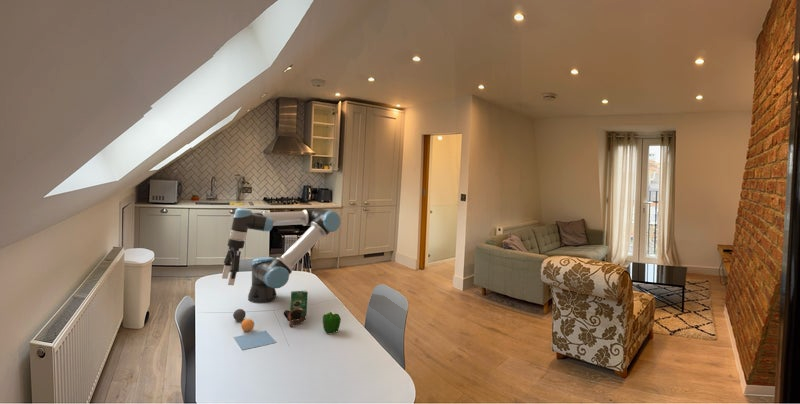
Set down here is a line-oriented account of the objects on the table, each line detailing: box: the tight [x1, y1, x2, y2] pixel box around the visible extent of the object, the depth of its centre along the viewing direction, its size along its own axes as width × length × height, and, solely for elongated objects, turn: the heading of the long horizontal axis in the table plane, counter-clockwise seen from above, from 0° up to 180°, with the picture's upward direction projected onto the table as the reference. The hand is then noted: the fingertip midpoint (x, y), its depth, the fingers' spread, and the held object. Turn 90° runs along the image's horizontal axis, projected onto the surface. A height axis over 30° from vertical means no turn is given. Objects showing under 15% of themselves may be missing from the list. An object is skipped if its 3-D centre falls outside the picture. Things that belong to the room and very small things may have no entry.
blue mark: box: [233, 330, 277, 351], centre depth 171 cm, size 14×14×1 cm
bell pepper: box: [322, 311, 342, 334], centre depth 183 cm, size 8×8×10 cm
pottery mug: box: [283, 309, 307, 328], centre depth 191 cm, size 12×10×8 cm
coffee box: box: [289, 290, 309, 317], centre depth 199 cm, size 8×3×13 cm, turn 115°
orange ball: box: [240, 318, 255, 332], centre depth 180 cm, size 6×6×6 cm
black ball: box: [232, 308, 246, 322], centre depth 191 cm, size 6×6×6 cm
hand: (227, 281), depth 197 cm, fingers open, 13 cm apart
